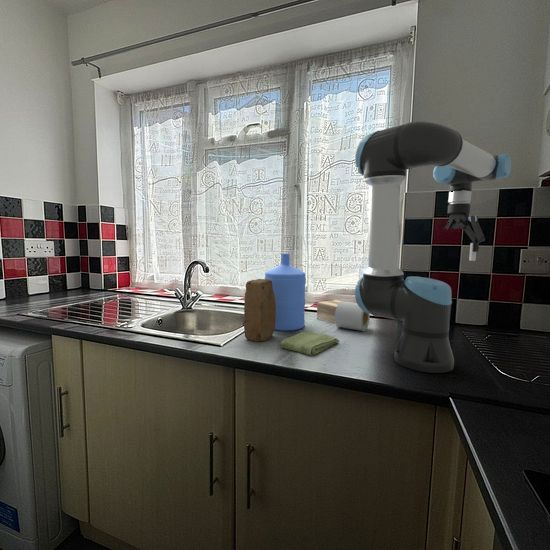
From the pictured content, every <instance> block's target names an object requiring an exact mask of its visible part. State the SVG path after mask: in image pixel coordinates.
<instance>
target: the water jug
mask: <svg viewBox="0 0 550 550" xmlns="http://www.w3.org/2000/svg"><path fill="white" fill-rule="evenodd" d="M290 255H291V254H290V253H281V259H280V260H281V263H280V265H277V266H275V267H274V268H271V269H269V270H267V271H266V272H265V273H264V275H265V276H264V279H268V280H271V281H272V285H273V291H274V294H275V301H276V320H275V329H274V331H279V332H289V331H292V332H293V331H297V330H301V329H302V328H304V327H305V323H306V321H305V310H306V309H305V308H306V307H305V305H306V284H307V283H306V272H304V271H302V270H301V269H299V268H297V267H295V266H293V265H291V263H290V261H291V258H290Z"/></svg>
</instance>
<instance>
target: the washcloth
mask: <svg viewBox="0 0 550 550" xmlns="http://www.w3.org/2000/svg"><path fill="white" fill-rule="evenodd" d="M338 343H340V340H339V339H338V338H336V337H335V336H331V335H328V334H325V333H320V332H319V333H317V332H314V331H313V330H305V331H301V332H300V333H297V334H295V335H293V336H289V337H285V338H284V339H283V340H281V341H280V348H282V349H284V348H285V350H289V351H291V350H292V352H298V353H301V354H303V355H308V356H311V355H313V356H315V355H318V354H320V353H322V352H325V351H326V350H327V349H328V348H331V347H333V345H336V344H338ZM321 351H322V352H321ZM319 352H320V353H319ZM314 354H315V355H314Z"/></svg>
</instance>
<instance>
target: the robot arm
mask: <svg viewBox="0 0 550 550" xmlns="http://www.w3.org/2000/svg"><path fill="white" fill-rule="evenodd" d="M354 154H355V155H354V162H355V167H356V168H357V172H358V174H360V175H361V176H363V182H364V183H365V184H366V185H367V186H368V258H367V259H368V260H367V261H368V264H367V265H368V266H367V268H366V269H364V271H363V272H362V273H363V274H362V277H360V278H359V279H358V280H357V284H356V285H355V288H354V289H355V290H354V296H355V297H354V298H355V303H357V304H358V306H359V307H360V308H361V309H362V311H364V312H366V313H369V314H370V315H372V316H375V317H382V318H386V319H391V320H396V321H401V322H402V330H401V331H402V333H401V335H400V338H399V339H398V342H397V344H396V347H395V349H394V353H393V354H394V355H393V358H394V359H393V360H394V361H395V362H396V364H398V365H400V366H402V367H404V368H407V369H410V370H412V371H417V372H422V373H431V374H437V373H438V374H440V373H441V374H443V373H448V372H452V371H453V370H454V368H455V367H454V366H455V358H454V354H453V350H452V348H451V343H450V340H449V334H450V333H449V332H450V321H451V311H452V304H453V300H452V288H451V286H450V285H449V284H448V283H446V282H444V281H442V280H438V279H434V278H429V277H422V276H417V275H416V276H411V275H410V276H407V277H406V278H405V280H404V276H405V275H404V273H405V272H404V271H403V270H402V269H400V267H399V254H400V253H399V252H400V251H399V250H400V247H399V246H400V211H401V210H400V209H401V208H400V204H401V203H400V201H401V184H402V183H403V181H405V179H406V178H407V170H411V169H415V168H422V167H427V166H434V168H433V172H432V176H433V179H434V180H435V181H436V183H439V184H441V185H446V186H449V189H448V200H447V203H448V205H447V215H448V214H450V216H449V220H448V222H449V223H448V222H447V224H445V226H444V229H445V228H446V229H447V230H448V229H449V227H451V228H453V229H462V230H463V231H464V232H465V233H466V235H467V236H468V237H469V239H470V240H471V241H472V242H470V244H469V246H470V247H469V257H468V261H470V262H472V261H473V262H475V261H476V258H477V252H479V250H480V249H479V247H480V243H482V242H485V241H486V238H485V235H484V233H483V231H482V227H481V226H480V225H481V224H480V223H479V217H478V215H471V216H470V214H471V204H470V203H471V201H472V188H473V183H474V182H482V181H483V182H484V181H493V180H495V181H497V180H500V179H501V180H502V179H506V178H507V177H509V175H510V173H511V172H512V171H511V170H512V158H511V156H510V155H509V154H508V153H504V154H502V153H501V154H500V153H499V154H496V155H493V154H491V153H489V152H487V151H485V150H484V149H482V148H479V147H478V146H476V145H475V144H472V143H470V142H469V141H467V140H465V139H463V136H462V134H461V133H460V132H459V131H457V130H456V129H453V128H452V127H449V126H447V125H444V124H441V123H440V124H439V123H437V122H436V123H435V122H431V121H425V120H424V121H423V120H422V121H419V120H417V121H410V122H408V123H404V124H400V125H397V126H393V127H389V128H386V129H380V130H376V131H374V132H373V133H370V134H367V135H365V136H364V137H363V138H362V139H361V140H360V141H359V142H358V145H357V147H356V151H355V153H354ZM462 190H466V191H462ZM451 191H453V192H451ZM469 222H470V224H469ZM470 225H471V226H470ZM471 227H472V228H471ZM453 229H452V230H453ZM472 229H473V230H472ZM447 230H446V231H447Z"/></svg>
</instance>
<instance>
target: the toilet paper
mask: <svg viewBox="0 0 550 550" xmlns="http://www.w3.org/2000/svg"><path fill="white" fill-rule="evenodd" d="M343 301H344V300H342V301H340V302H339V303H338V305H337V308H336V311H335V323H334V324H335V325H336V327H338V328H343V329H348V330H354V331H361V332H366V331H367V330H368V326H369V324H370V317H371V316H370V315H371V314H369V313H366V312H364V311H362V309H361V308H360V307H359V306H358V304H357V302H352V303H351V301H347V302H343Z"/></svg>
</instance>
